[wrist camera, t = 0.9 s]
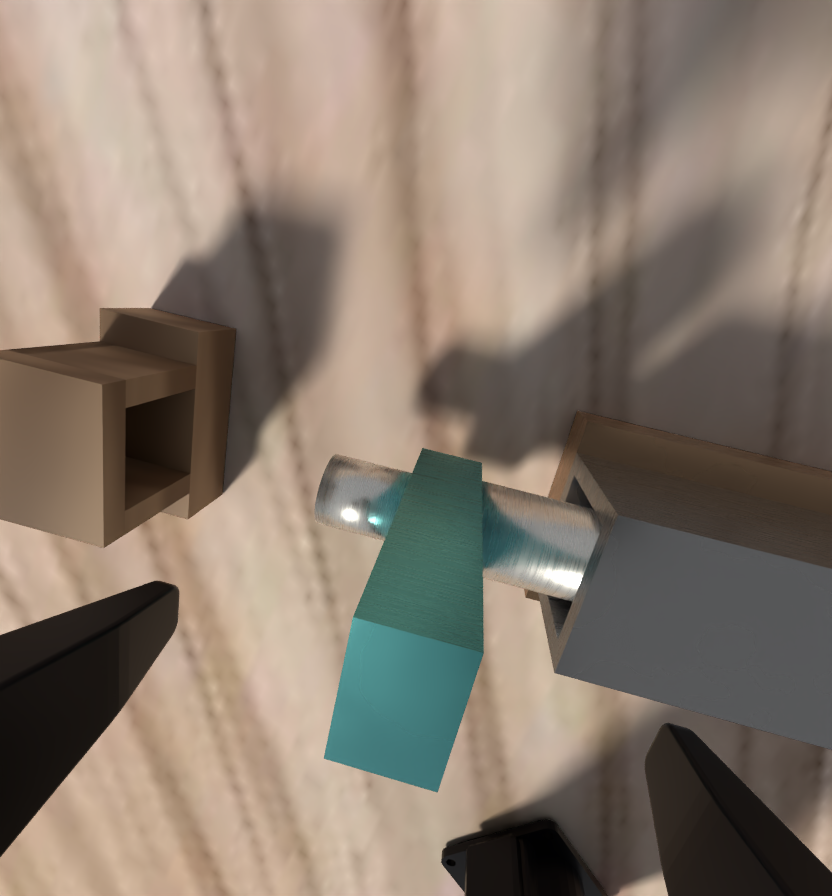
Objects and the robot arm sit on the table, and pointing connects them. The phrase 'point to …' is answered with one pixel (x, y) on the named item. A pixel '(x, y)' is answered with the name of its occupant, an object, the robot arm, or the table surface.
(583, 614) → the sleeve
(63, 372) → the socket
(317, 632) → the table surface
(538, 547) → the teal block on rod
